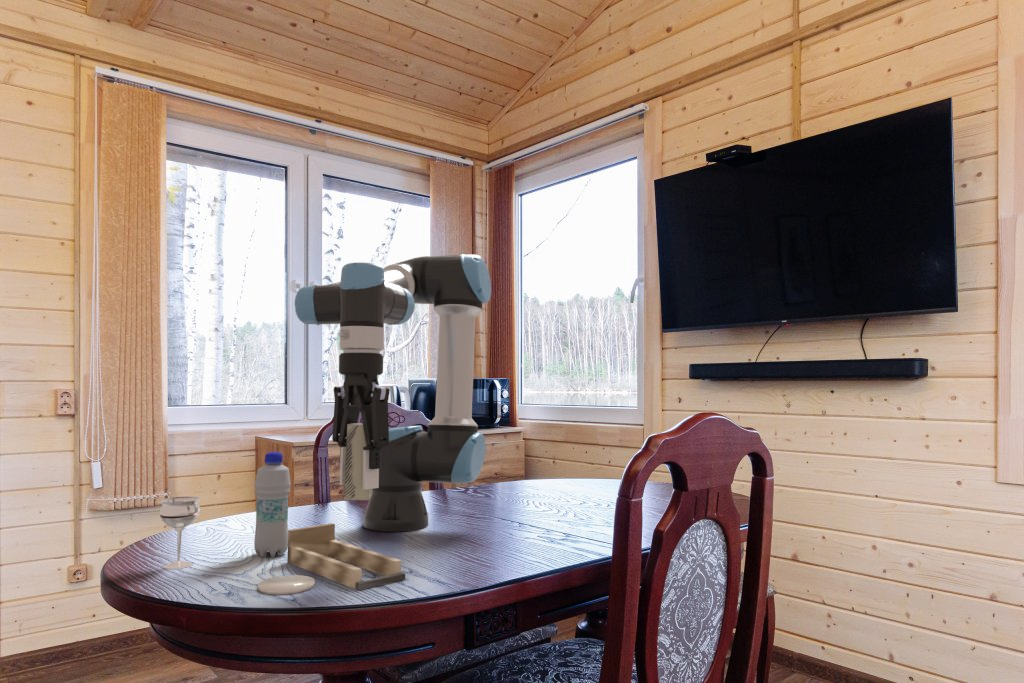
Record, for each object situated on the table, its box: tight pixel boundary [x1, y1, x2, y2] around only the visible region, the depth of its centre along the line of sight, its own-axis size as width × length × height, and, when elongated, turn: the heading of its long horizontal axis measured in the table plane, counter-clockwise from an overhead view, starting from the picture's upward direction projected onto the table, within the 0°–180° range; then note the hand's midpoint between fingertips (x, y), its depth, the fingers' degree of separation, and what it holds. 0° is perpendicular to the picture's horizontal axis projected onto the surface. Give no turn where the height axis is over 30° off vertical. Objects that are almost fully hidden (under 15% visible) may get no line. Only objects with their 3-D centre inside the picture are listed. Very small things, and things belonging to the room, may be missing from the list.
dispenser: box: [287, 522, 406, 591], centre depth 126 cm, size 24×9×6 cm, turn 45°
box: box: [343, 422, 373, 501], centre depth 121 cm, size 5×4×13 cm
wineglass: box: [159, 496, 201, 570], centre depth 129 cm, size 7×7×12 cm
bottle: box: [253, 451, 292, 558], centre depth 138 cm, size 7×7×20 cm
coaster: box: [257, 574, 316, 596], centre depth 116 cm, size 9×9×1 cm
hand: (358, 486), depth 120 cm, fingers closed on box, 6 cm apart
